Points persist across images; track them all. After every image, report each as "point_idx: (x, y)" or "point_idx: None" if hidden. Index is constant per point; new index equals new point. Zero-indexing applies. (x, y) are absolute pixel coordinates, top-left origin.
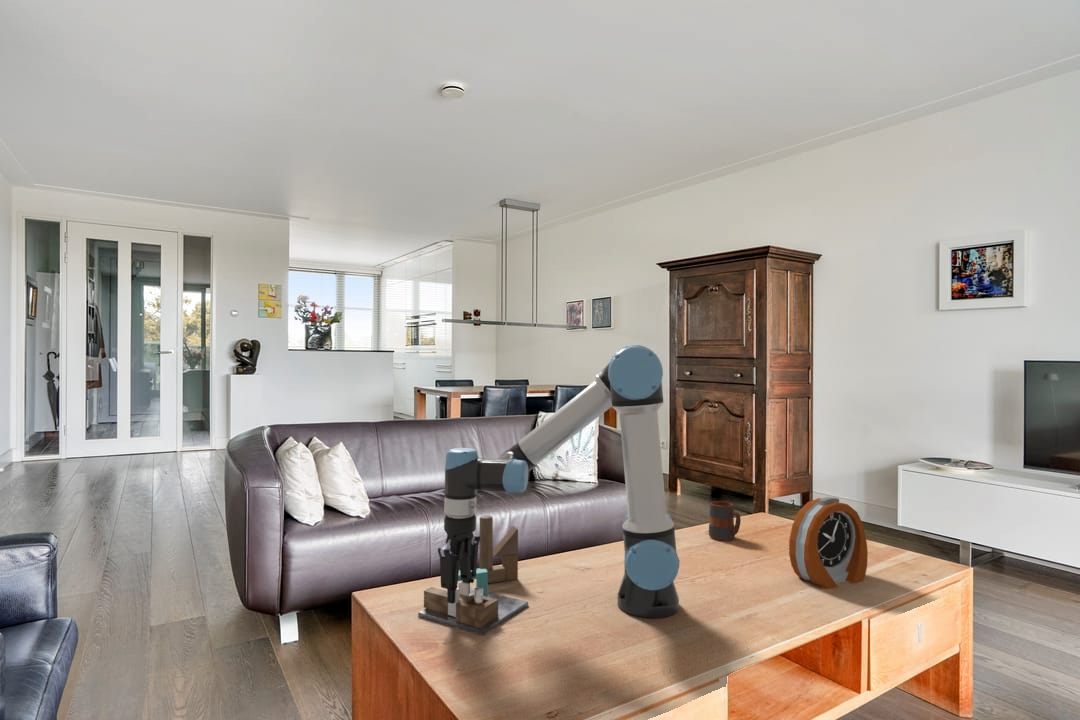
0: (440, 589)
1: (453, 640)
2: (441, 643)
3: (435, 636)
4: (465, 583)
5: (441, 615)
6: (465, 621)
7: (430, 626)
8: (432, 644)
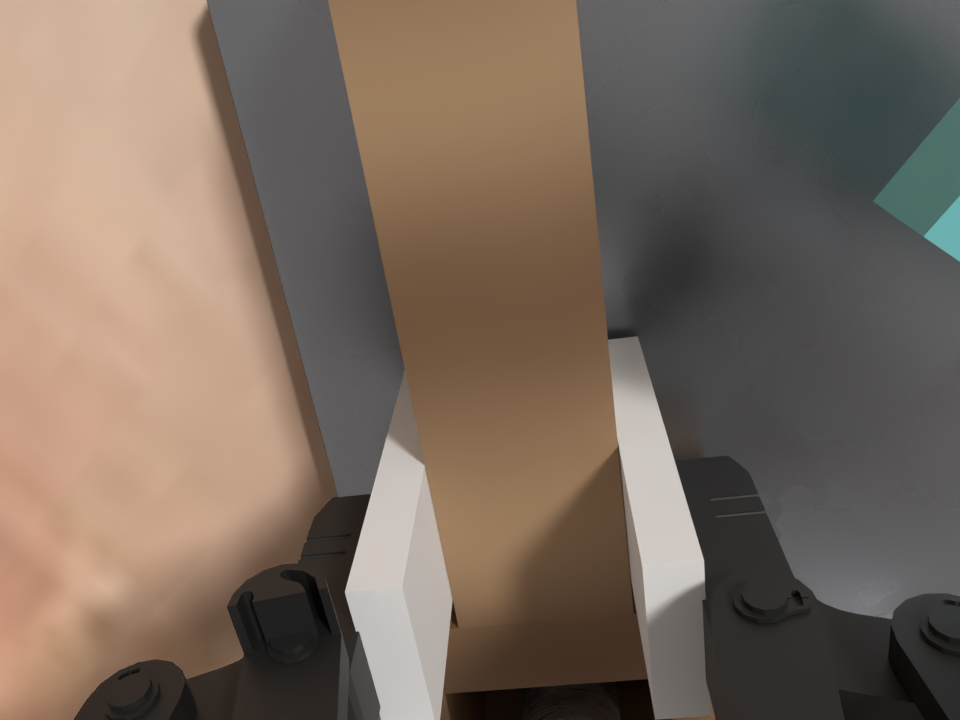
0: (570, 84)
1: (184, 641)
2: (77, 609)
3: (104, 494)
4: (673, 677)
5: (362, 296)
6: None
7: (183, 309)
8: (7, 572)
